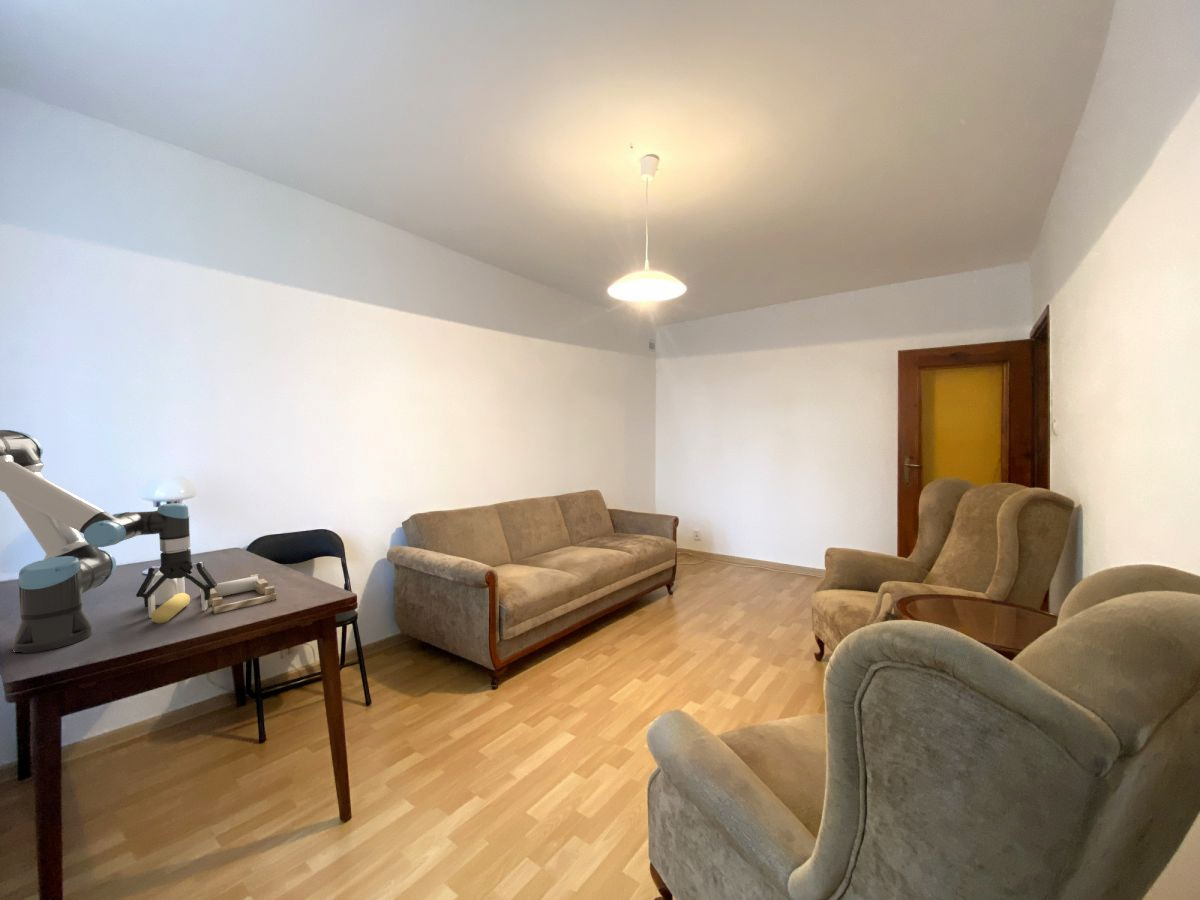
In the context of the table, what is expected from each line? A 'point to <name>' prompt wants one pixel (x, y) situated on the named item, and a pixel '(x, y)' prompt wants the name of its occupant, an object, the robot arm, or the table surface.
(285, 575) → the table surface
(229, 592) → the white cylinder
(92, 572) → the robot arm
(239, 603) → the wooden rack
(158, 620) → the yellow cylinder
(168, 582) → the mug
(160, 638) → the table surface
